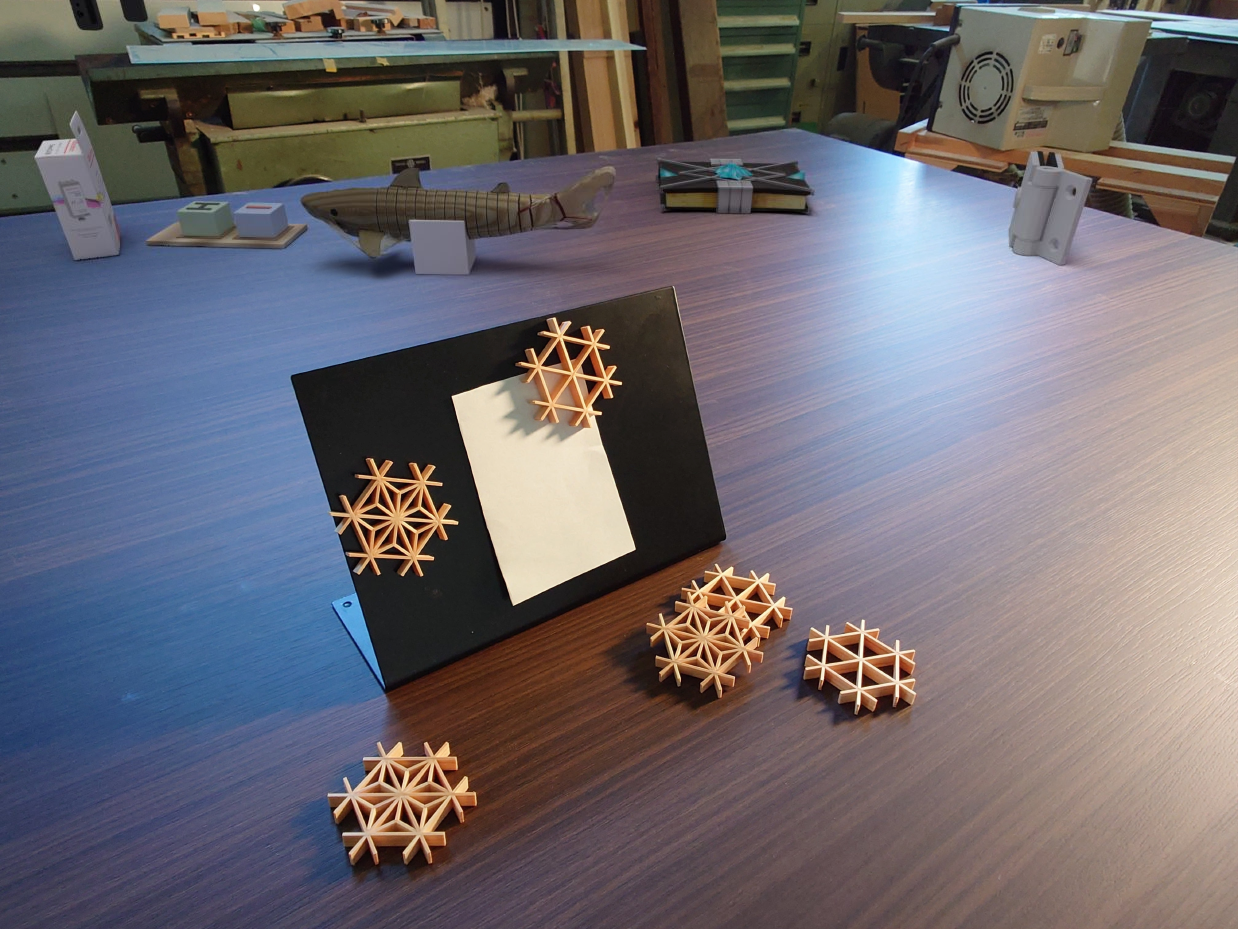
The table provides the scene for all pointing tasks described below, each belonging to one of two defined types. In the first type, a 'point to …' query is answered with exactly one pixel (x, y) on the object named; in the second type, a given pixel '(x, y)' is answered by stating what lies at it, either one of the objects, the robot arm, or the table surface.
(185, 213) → the tile
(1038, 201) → the hinge
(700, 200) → the book
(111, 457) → the table surface
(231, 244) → the word board
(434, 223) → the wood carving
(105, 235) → the ink cartridge box
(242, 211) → the tile
